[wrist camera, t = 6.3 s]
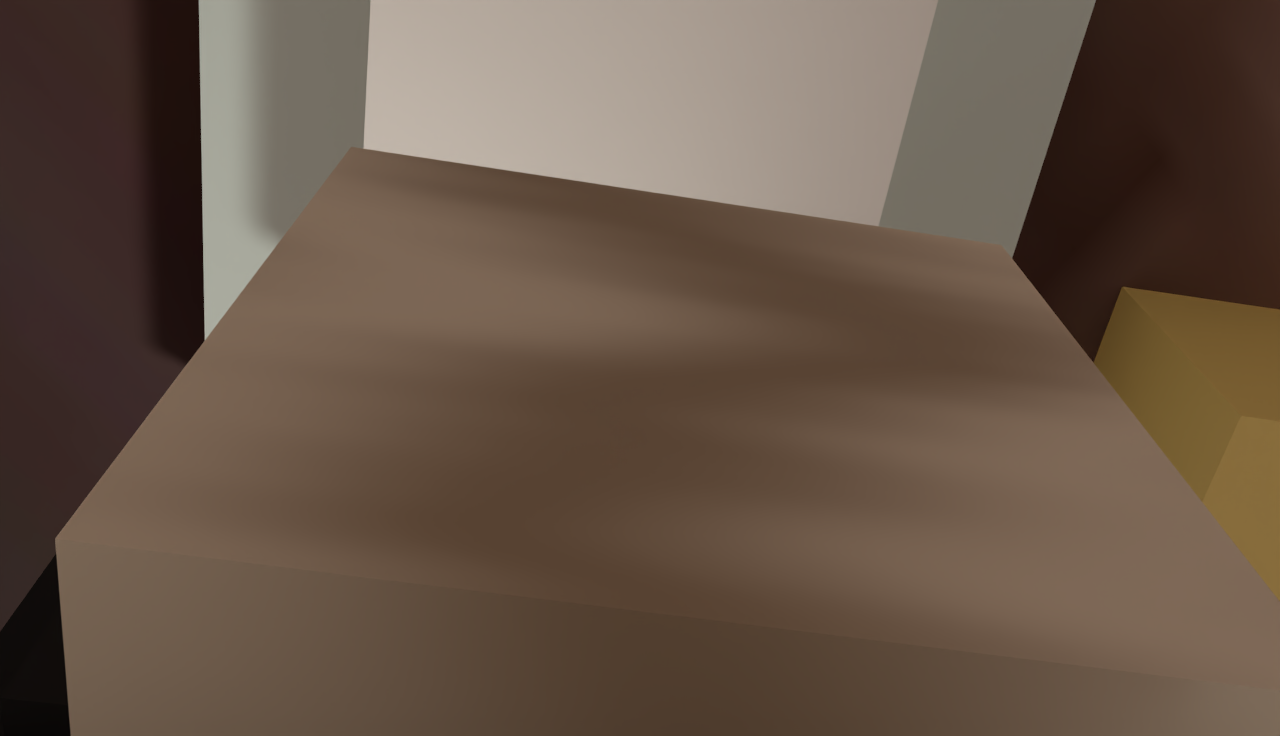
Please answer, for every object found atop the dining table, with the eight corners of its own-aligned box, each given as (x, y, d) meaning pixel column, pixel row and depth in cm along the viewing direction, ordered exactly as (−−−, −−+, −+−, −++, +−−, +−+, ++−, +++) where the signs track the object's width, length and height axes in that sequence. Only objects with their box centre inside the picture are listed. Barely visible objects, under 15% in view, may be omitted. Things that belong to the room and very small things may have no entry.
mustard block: (1367, 321, 30) (1544, 458, 24) (1265, 530, 33) (1400, 697, 27) (1121, 285, 29) (1241, 416, 23) (1039, 501, 32) (1128, 664, 26)
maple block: (1001, 244, 12) (1357, 698, 6) (849, 726, 15) (989, 1347, 9) (350, 146, 11) (55, 537, 6) (326, 665, 14) (114, 1280, 8)
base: (1144, -275, 23) (1263, -282, 19) (909, 478, 32) (955, 596, 27) (225, -444, 22) (123, -494, 18) (230, 390, 30) (162, 499, 26)
